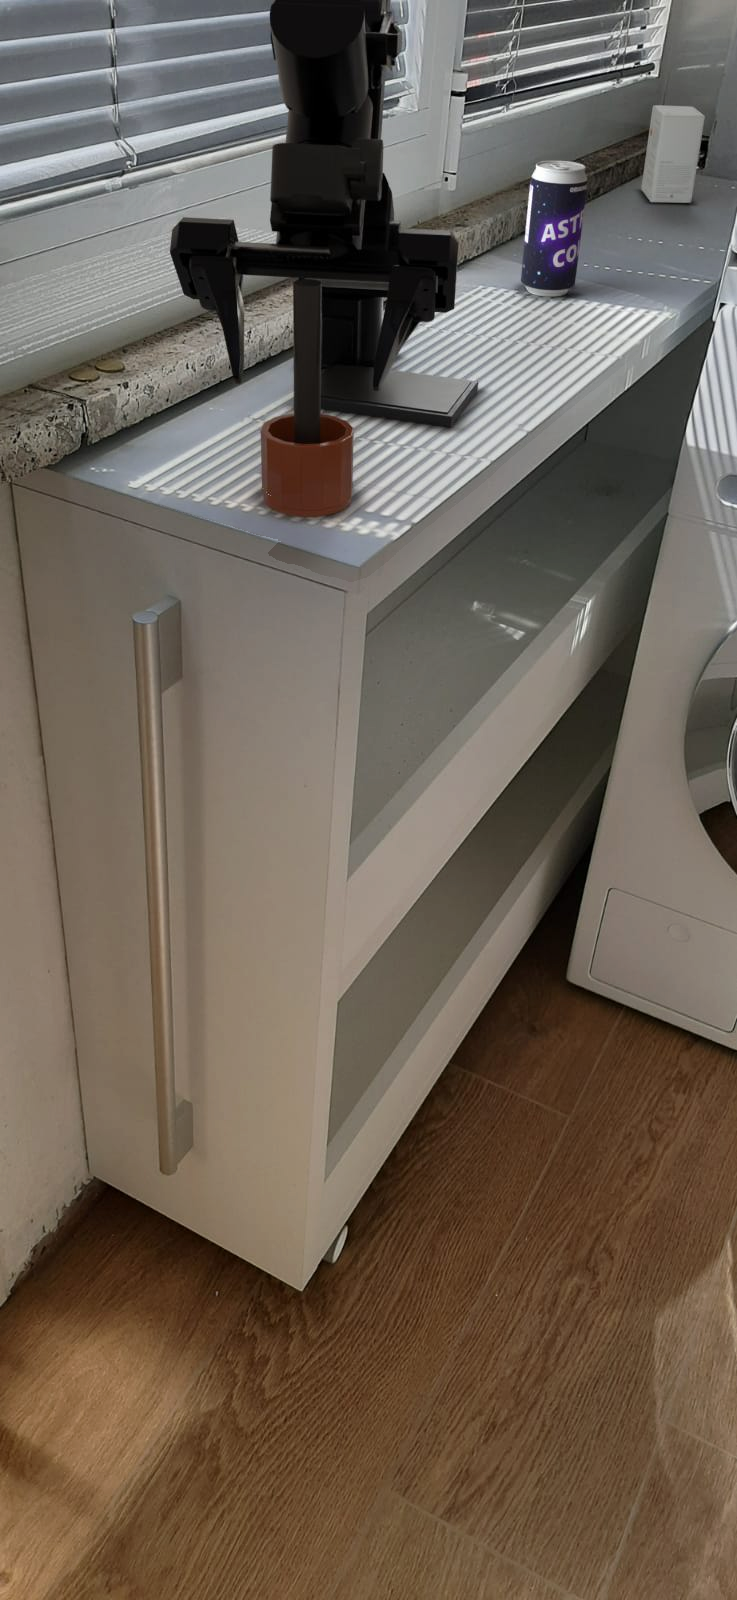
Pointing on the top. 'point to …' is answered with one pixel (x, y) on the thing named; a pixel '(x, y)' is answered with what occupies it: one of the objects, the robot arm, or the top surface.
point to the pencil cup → (307, 468)
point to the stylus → (307, 361)
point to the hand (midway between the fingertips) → (306, 384)
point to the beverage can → (553, 227)
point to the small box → (672, 153)
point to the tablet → (396, 395)
